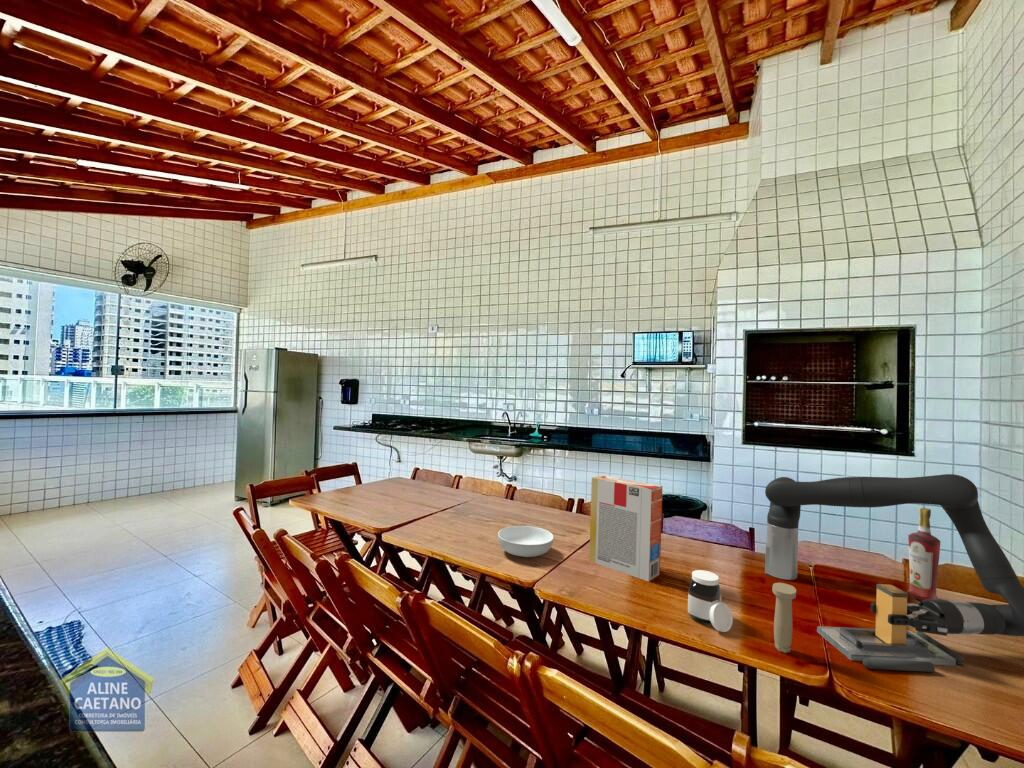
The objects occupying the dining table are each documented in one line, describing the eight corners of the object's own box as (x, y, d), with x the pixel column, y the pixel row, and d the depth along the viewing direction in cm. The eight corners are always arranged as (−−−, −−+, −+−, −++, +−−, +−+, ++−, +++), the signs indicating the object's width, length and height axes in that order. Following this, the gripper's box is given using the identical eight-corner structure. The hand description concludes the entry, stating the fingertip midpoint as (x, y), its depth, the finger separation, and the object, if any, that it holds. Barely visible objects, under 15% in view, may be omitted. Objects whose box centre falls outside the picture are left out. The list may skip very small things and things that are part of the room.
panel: (910, 636, 114) (910, 624, 115) (955, 665, 102) (956, 652, 103) (817, 632, 115) (817, 620, 115) (850, 660, 103) (851, 647, 103)
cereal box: (659, 574, 148) (662, 485, 148) (648, 581, 142) (651, 489, 142) (601, 554, 164) (603, 474, 164) (589, 560, 158) (591, 477, 158)
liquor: (901, 595, 138) (903, 506, 138) (915, 592, 141) (917, 504, 141) (930, 606, 131) (932, 513, 132) (944, 602, 134) (946, 511, 134)
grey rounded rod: (926, 668, 101) (926, 659, 101) (934, 674, 99) (935, 665, 99) (860, 665, 102) (860, 656, 102) (867, 670, 100) (867, 661, 100)
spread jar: (695, 605, 127) (696, 565, 127) (738, 620, 120) (739, 577, 120) (681, 622, 118) (682, 579, 118) (727, 638, 111) (728, 592, 111)
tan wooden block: (889, 635, 111) (891, 584, 111) (906, 647, 106) (907, 593, 106) (875, 635, 111) (876, 583, 111) (890, 646, 106) (892, 592, 107)
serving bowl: (532, 569, 149) (532, 549, 149) (485, 553, 162) (486, 534, 162) (563, 552, 166) (564, 533, 166) (519, 538, 179) (519, 521, 179)
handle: (795, 647, 108) (797, 586, 108) (792, 660, 103) (794, 596, 103) (772, 640, 111) (774, 580, 111) (769, 651, 106) (770, 589, 106)
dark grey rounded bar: (915, 638, 113) (916, 631, 113) (923, 639, 113) (924, 631, 113) (957, 666, 102) (958, 657, 102) (966, 666, 102) (967, 657, 102)
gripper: (924, 588, 116) (858, 585, 116) (981, 616, 101) (905, 613, 102) (923, 616, 115) (857, 613, 116) (980, 649, 101) (904, 645, 102)
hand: (880, 613), depth 109 cm, fingers closed on tan wooden block, 5 cm apart
